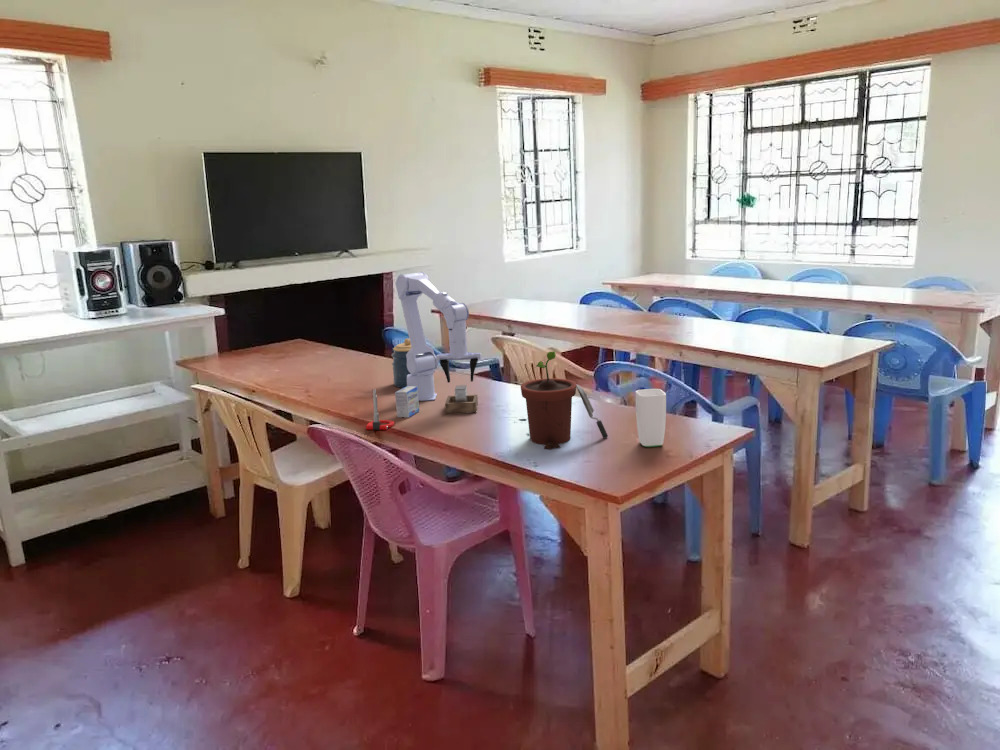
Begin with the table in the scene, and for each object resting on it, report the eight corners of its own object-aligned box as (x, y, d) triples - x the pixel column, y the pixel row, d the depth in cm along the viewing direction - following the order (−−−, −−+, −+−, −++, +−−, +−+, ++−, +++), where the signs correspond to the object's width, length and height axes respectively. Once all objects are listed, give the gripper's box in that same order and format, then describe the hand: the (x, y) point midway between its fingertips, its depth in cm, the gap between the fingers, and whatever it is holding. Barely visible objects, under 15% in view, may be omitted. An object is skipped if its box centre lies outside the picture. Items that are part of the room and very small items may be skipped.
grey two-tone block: (456, 409, 258) (454, 389, 256) (457, 405, 263) (456, 385, 261) (466, 409, 258) (465, 388, 256) (467, 405, 263) (466, 385, 261)
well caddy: (445, 414, 255) (445, 403, 255) (448, 405, 265) (447, 395, 264) (476, 412, 255) (475, 402, 254) (478, 404, 265) (477, 394, 264)
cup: (667, 447, 212) (667, 394, 209) (641, 449, 212) (640, 396, 208) (660, 439, 219) (660, 388, 216) (634, 441, 219) (634, 389, 215)
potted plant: (548, 426, 237) (545, 345, 231) (608, 437, 223) (607, 351, 218) (510, 441, 224) (506, 356, 218) (573, 455, 210) (570, 364, 204)
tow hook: (372, 423, 251) (363, 430, 242) (369, 383, 249) (360, 389, 240) (397, 423, 250) (389, 430, 241) (395, 383, 247) (386, 389, 238)
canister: (399, 390, 290) (395, 343, 286) (389, 383, 302) (385, 338, 298) (432, 385, 295) (429, 339, 291) (421, 378, 307) (418, 334, 303)
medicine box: (409, 418, 253) (406, 392, 251) (396, 417, 254) (394, 391, 252) (419, 411, 260) (417, 386, 258) (407, 410, 262) (405, 385, 260)
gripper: (434, 344, 252) (437, 385, 255) (479, 342, 251) (481, 383, 254) (436, 340, 259) (439, 379, 262) (480, 338, 258) (482, 378, 261)
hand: (460, 381), depth 259 cm, fingers open, 7 cm apart
